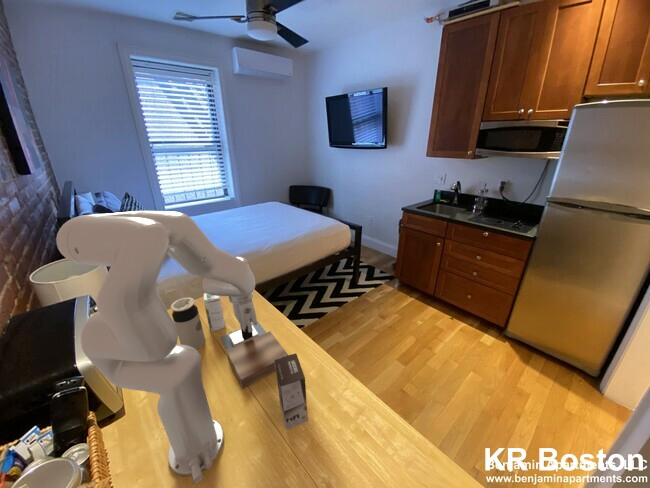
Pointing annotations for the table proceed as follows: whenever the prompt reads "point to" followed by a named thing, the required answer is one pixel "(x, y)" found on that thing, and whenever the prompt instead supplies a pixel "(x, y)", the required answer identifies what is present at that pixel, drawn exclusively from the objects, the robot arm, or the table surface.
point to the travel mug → (188, 323)
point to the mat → (226, 338)
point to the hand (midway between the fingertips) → (247, 337)
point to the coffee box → (291, 390)
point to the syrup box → (214, 312)
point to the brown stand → (255, 358)
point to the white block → (237, 337)
